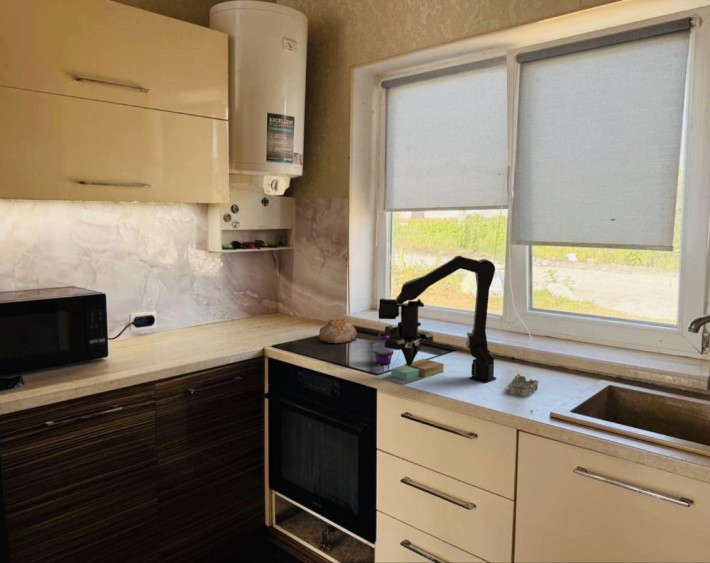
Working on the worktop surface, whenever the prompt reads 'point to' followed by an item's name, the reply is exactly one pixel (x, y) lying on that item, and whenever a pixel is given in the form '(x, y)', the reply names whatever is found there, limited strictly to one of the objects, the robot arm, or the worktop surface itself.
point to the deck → (427, 367)
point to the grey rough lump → (522, 386)
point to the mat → (401, 381)
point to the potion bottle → (382, 350)
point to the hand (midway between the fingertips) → (409, 365)
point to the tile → (405, 372)
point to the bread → (337, 332)
